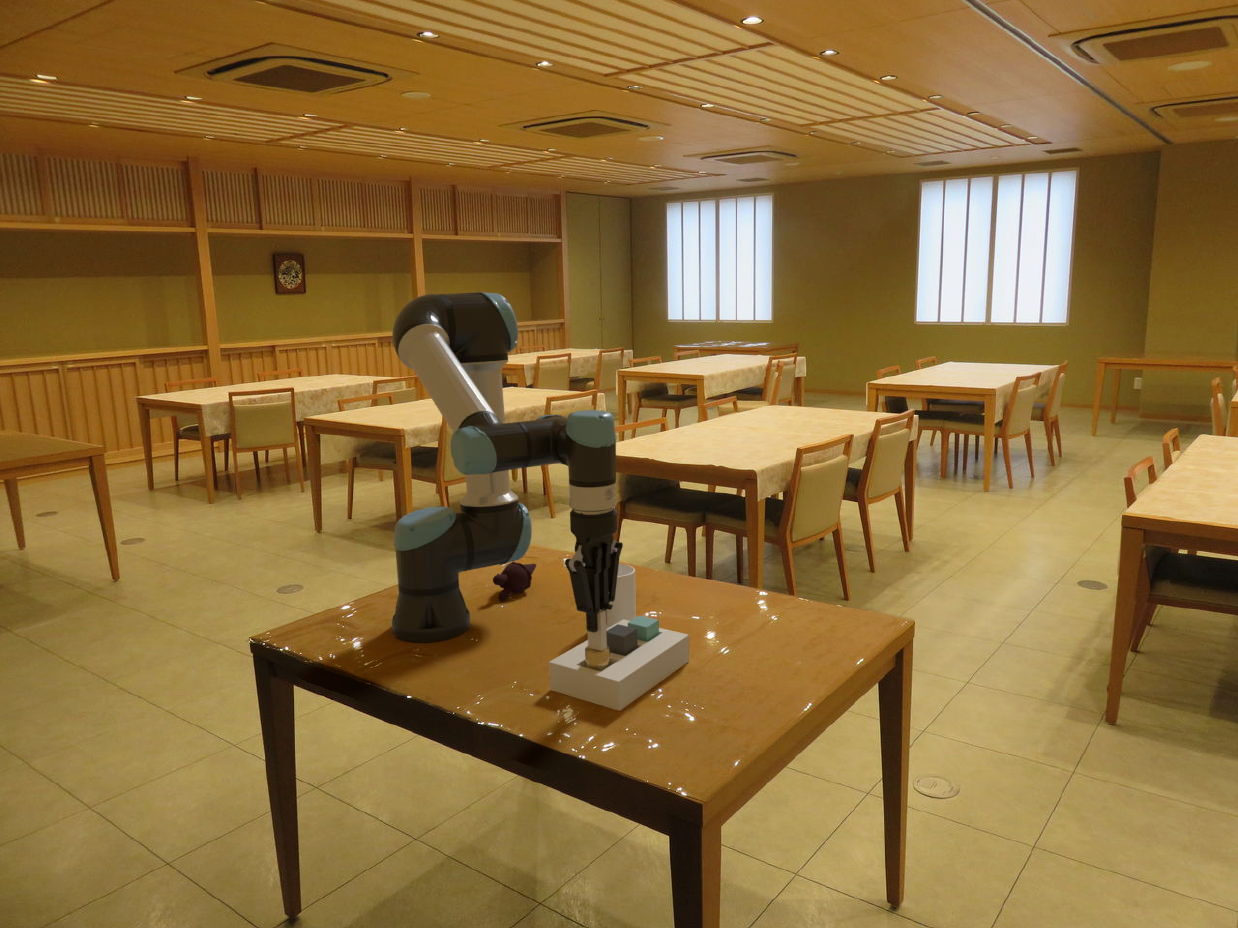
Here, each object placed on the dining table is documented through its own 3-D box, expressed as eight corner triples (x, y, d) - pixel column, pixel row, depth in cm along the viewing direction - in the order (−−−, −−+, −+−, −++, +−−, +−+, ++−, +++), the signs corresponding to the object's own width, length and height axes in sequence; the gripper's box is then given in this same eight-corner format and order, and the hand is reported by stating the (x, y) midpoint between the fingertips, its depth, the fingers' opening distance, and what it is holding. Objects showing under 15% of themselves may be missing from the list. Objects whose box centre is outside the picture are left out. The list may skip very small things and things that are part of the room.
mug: (604, 646, 168) (603, 584, 165) (572, 634, 173) (570, 575, 171) (646, 627, 176) (645, 568, 174) (614, 617, 182) (612, 560, 179)
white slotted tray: (550, 689, 150) (549, 661, 149) (623, 644, 168) (623, 619, 167) (619, 710, 143) (618, 681, 142) (689, 661, 160) (689, 634, 159)
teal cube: (628, 646, 160) (627, 622, 159) (640, 639, 163) (639, 615, 162) (647, 651, 158) (646, 627, 157) (659, 643, 161) (658, 619, 160)
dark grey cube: (605, 656, 154) (604, 631, 153) (618, 648, 157) (617, 624, 157) (624, 661, 152) (624, 636, 151) (637, 653, 155) (637, 628, 154)
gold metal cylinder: (580, 675, 149) (580, 650, 148) (595, 666, 152) (594, 641, 151) (600, 681, 147) (600, 655, 146) (614, 672, 150) (614, 647, 149)
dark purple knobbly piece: (518, 551, 205) (478, 577, 192) (544, 548, 201) (505, 573, 189) (527, 580, 206) (488, 607, 194) (553, 577, 202) (515, 604, 190)
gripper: (588, 521, 136) (592, 667, 141) (635, 502, 147) (638, 638, 151) (549, 514, 140) (554, 656, 145) (598, 497, 151) (601, 630, 156)
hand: (597, 647), depth 148 cm, fingers closed
